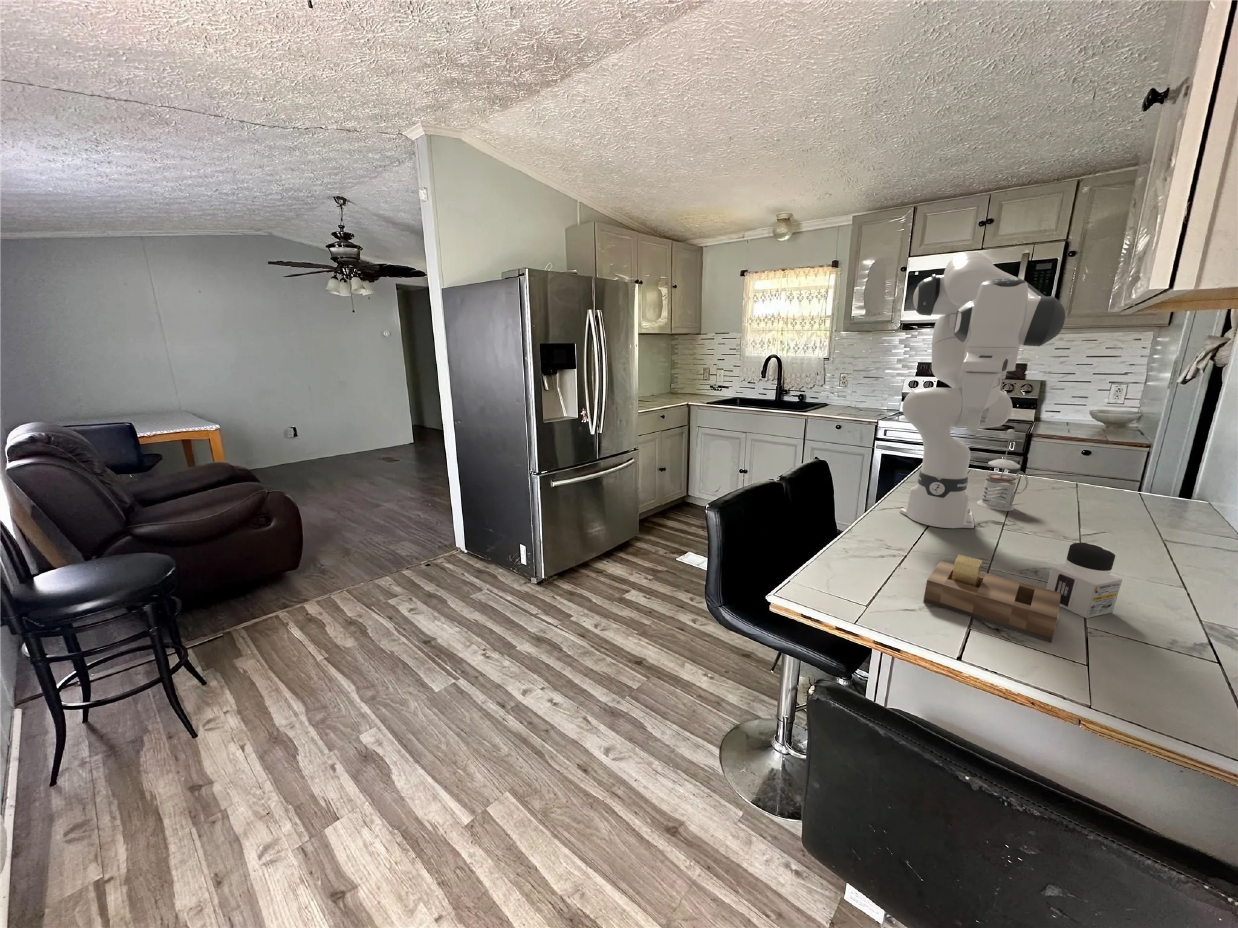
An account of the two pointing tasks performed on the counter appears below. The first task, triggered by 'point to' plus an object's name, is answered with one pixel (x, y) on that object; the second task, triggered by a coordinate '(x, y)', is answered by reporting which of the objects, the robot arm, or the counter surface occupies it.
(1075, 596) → the container
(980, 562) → the light wooden square bit
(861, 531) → the counter surface
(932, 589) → the walnut socket block
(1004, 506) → the french press
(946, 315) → the robot arm
